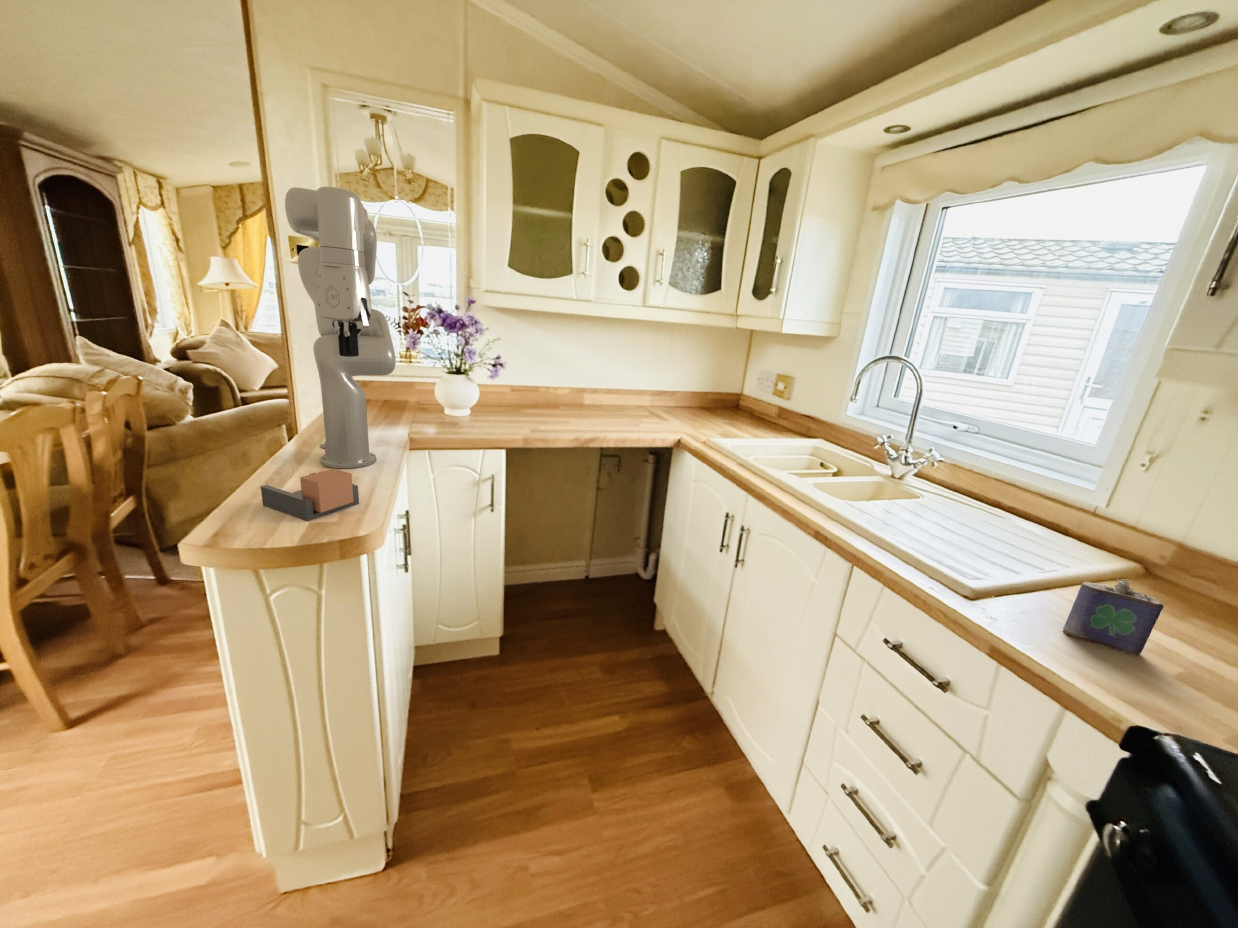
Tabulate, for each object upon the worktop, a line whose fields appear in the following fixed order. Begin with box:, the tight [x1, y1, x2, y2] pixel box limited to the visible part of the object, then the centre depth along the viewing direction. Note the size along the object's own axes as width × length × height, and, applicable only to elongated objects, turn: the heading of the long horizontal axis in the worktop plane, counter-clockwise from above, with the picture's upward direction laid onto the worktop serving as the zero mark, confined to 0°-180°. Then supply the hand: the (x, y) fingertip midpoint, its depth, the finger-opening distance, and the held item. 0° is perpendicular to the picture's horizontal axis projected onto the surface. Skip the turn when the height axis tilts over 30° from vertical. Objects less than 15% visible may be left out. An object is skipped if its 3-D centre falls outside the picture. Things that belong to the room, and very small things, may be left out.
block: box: [299, 468, 354, 513], centre depth 96 cm, size 5×7×6 cm
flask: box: [1062, 578, 1164, 657], centre depth 75 cm, size 9×3×11 cm, turn 59°
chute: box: [260, 472, 360, 522], centre depth 99 cm, size 13×11×4 cm
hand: (349, 356), depth 101 cm, fingers closed
